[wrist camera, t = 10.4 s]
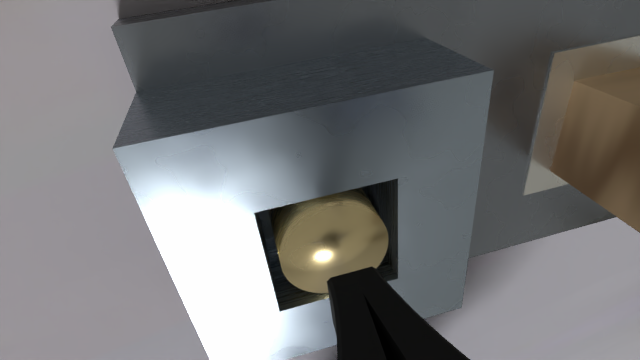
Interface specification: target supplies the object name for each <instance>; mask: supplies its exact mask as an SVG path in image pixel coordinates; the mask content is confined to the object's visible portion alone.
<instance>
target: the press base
mask: <svg viewBox="0 0 640 360" xmlns="http://www.w3.org/2000/svg"><path fill="white" fill-rule="evenodd" d="M111 28H112V31H113V33H114V36H115V38H116V41H117V44H118V46H119V49H120V51H121V54H122V56H123V59H124V62H125V64H126V67H127V69H128V72H129V74H130V77H131V80H132V82H133V85H134V87H135V90H136V94H135V96H134V99H133V101H132V104H131V106H130V108H129V111H128V113H127V116H126V118H125V120H124V123H123V125H122V127H121V130H120V132H119V135H118V137H117V139H116V142H115V144H114V146H113V150H114V153H115V155H116V157H117V159H118V161H119V163H120V166H121V168H122V170H123V172H124V174H125V176H126V179H127V181H128V183H129V185H130V187H131V189H132V192H133V194H134V196H135V198H136V200H137V202H138V205H139V207H140V209H141V211H142V213H143V215H144V218H145V220H146V222H147V224H148V226H149V228H150V231H151V233H152V235H153V237H154V239H155V241H156V244H157V246H158V248H159V250H160V252H161V254H162V257H163V259H164V261H165V263H166V265H167V267H168V270H169V272H170V274H171V276H172V278H173V280H174V283H175V285H176V287H177V289H178V291H179V293H180V296H181V298H182V300H183V302H184V304H185V306H186V308H187V311H188V313H189V315H190V317H191V319H192V321H193V324H194V326H195V328H196V330H197V332H198V334H199V337H200V339H201V341H202V343H203V345H204V347H205V350H206V352H207V354H208V356H209V358H210V360H287V359H290V358H294V357H297V356H300V355H304V354H307V353H310V352H314V351H317V350H321V349H324V348H327V347H331V346H334V345H337V336H336V332H335V328H334V325H333V320H332V313H331V306H330V300H329V293H313V292H308V291H305V290H302V289H300V288H297V287H296V286H294V285H293V284H292V283H290V282H289V281H288V280H287V278H286V277H285V275H284V273H283V271H282V268H281V264H280V260H279V256H278V251H277V247H276V243H275V238H274V234H273V230H272V226H271V221H270V217H269V213H268V209H272V208H276V207H281V206H285V205H289V204H293V203H297V202H301V201H306V200H310V199H314V198H318V197H322V196H326V195H331V194H335V193H339V192H343V191H347V190H351V189H356V188H360V187H362V189H363V191H364V192H365V194H366V195H367V197H368V199H369V200H370V202H371V204H372V205H373V207H374V208H375V210H376V212H377V213H378V215H379V216H380V218H381V220H382V221H383V223H384V225H385V227H386V229H387V232H388V239H389V240H388V248H387V251H386V254H385V256H384V258H383V260H382V262H381V263H380V265H379V266H378V267H377V268H376V269H377V271H378V272H379V273H380V274H381V275H382V277H383V278H384V279H385V280H386V281H387V282H388V283H389V285H390V286H391V287H392V288H393V289H394V290H395V291H396V292H397V293H398V294H399V295H400V296H401V297H402V298H403V299H404V300H405V302H406V303H407V304H408V305H409V306H410V307H411V308H412V309H413V310H414V311H416V312H417V313H418V314H419V315H420V316H421V317H422V318H423V319H425V318H428V317H431V316H435V315H438V314H441V313H445V312H448V311H452V310H455V309H458V308H462V301H463V294H464V286H465V279H466V272H467V264H468V258H471V257H475V256H478V255H482V254H485V253H489V252H492V251H496V250H500V249H503V248H507V247H510V246H514V245H518V244H521V243H525V242H528V241H532V240H536V239H539V238H543V237H546V236H550V235H553V234H557V233H561V232H564V231H568V230H571V229H575V228H579V227H582V226H586V225H589V224H593V223H597V222H600V221H604V220H607V219H611V218H614V217H616V216H615V215H613V214H612V213H611V212H609V211H608V210H606V209H605V208H603V207H602V206H600V205H599V204H597V203H596V202H595V201H593V200H592V199H590V198H589V197H587V196H586V195H584V194H583V193H582V192H580V191H579V190H577V189H576V188H574V187H573V186H571V185H570V184H568V183H567V182H566V181H564V180H563V179H561V178H560V177H558V176H557V175H555V174H554V173H553V172H551V171H550V170H551V166H552V163H553V159H554V155H555V151H556V148H557V144H558V140H559V136H560V132H561V129H562V125H563V121H564V117H565V114H566V110H567V106H568V102H569V99H570V95H571V91H572V87H573V83H574V81H575V80H580V79H585V78H589V77H594V76H599V75H604V74H609V73H614V72H619V71H624V70H629V69H633V68H638V67H640V0H236V1H230V2H224V3H217V4H211V5H205V6H199V7H192V8H186V9H180V10H174V11H168V12H161V13H155V14H149V15H143V16H137V17H130V18H124V19H118V20H117V21H116V22H115V23H114V24H113V25H112V26H111Z"/></svg>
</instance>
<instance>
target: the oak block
mask: <svg viewBox="0 0 640 360" xmlns="http://www.w3.org/2000/svg"><path fill="white" fill-rule="evenodd" d="M550 171H551V172H553V173H554V174H555V175H557V176H558V177H560V178H561V179H563V180H564V181H566V182H567V183H568V184H570V185H571V186H573V187H574V188H576V189H577V190H579V191H580V192H582V193H583V194H584V195H586V196H587V197H589V198H590V199H592V200H593V201H595V202H596V203H597V204H599V205H600V206H602V207H603V208H605V209H606V210H608V211H609V212H611V213H612V214H613V215H615V216H616V217H618V218H619V219H621V220H622V221H624V222H625V223H626V224H628V225H629V226H631V227H632V228H634V229H635V230H637V231H638V232H640V67H638V68H633V69H629V70H624V71H619V72H614V73H609V74H604V75H599V76H594V77H589V78H585V79H580V80H575V81H574V83H573V87H572V91H571V95H570V99H569V102H568V106H567V110H566V114H565V117H564V121H563V125H562V129H561V132H560V136H559V140H558V144H557V148H556V151H555V155H554V159H553V163H552V166H551V170H550Z"/></svg>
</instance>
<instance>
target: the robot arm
mask: <svg viewBox="0 0 640 360" xmlns="http://www.w3.org/2000/svg"><path fill="white" fill-rule="evenodd" d="M327 286H328V293H329V300H330V306H331V313H332V320H333V325H334V328H335V332H336V336H337V355H338V360H470V359H469V358H467V357H466V356H465V355H464V354H462V353H461V352H460V351H459V350H458V349H456V348H455V347H454V346H453V345H452V344H451V343H449V342H448V341H447V340H446V339H445V338H444V337H442V336H441V335H440V334H439V333H438V332H437V331H436V330H435V329H434V328H432V327H431V326H430V325H429V324H428V323H427V322H426V321H425V320H424V319H423V318H422V317H421V316H420V315H419V314H418V313H417V312H416V311H414V310H413V309H412V308H411V307H410V306H409V305H408V304H407V303H406V302H405V300H404V299H403V298H402V297H401V296H400V295H399V294H398V293H397V292H396V291H395V290H394V289H393V288H392V287H391V286H390V285H389V283H388V282H387V281H386V280H385V279H384V278H383V277H382V275H381V274H380V273H379V272H378V271H377V269H376V268H374V267H368V268H364V269H361V270H357V271H353V272H349V273H346V274H342V275H338V276H335V277H331V278H330V279H329V280H328V281H327Z"/></svg>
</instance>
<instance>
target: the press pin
mask: <svg viewBox="0 0 640 360" xmlns="http://www.w3.org/2000/svg"><path fill="white" fill-rule="evenodd" d="M268 213H269V217H270V221H271V226H272V230H273V234H274V238H275V243H276V247H277V251H278V256H279V260H280V264H281V268H282V271H283V273H284V275H285V277H286V278H287V280H288V281H289V282H290V283H292V284H293V285H294V286H296V287H297V288H300V289H302V290H305V291H308V292H313V293H328V286H327V281H328V280H329V279H330V278H331V277H335V276H338V275H342V274H346V273H349V272H353V271H357V270H361V269H364V268H368V267H374V268H377V267H378V266H379V265H380V263H381V262H382V260H383V258H384V256H385V254H386V251H387V248H388V240H389V239H388V232H387V229H386V227H385V225H384V223H383V221H382V220H381V218H380V216H379V215H378V213H377V212H376V210H375V208H374V207H373V205H372V204H371V202H370V200H369V199H368V197H367V195H366V194H365V192H364V191H363V189H362V187H360V188H356V189H351V190H347V191H343V192H339V193H335V194H331V195H326V196H322V197H318V198H314V199H310V200H306V201H301V202H297V203H293V204H289V205H285V206H281V207H276V208H272V209H268Z"/></svg>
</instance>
